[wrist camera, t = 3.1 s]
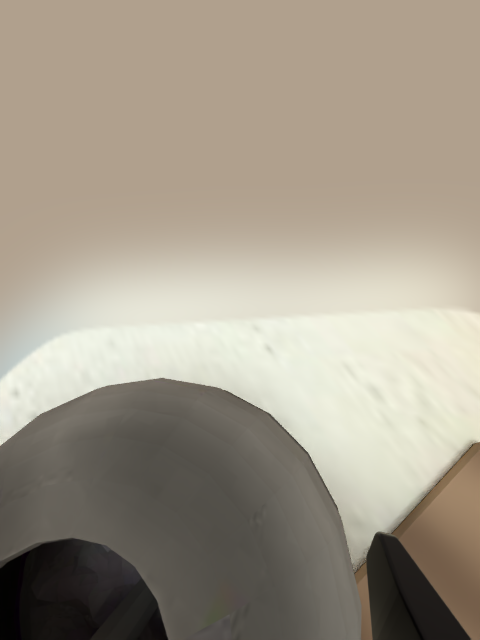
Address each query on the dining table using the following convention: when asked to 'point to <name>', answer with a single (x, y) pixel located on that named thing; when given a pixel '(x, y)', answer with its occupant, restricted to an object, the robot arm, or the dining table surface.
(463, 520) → the walnut board
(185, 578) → the beverage cup
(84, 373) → the dining table surface
